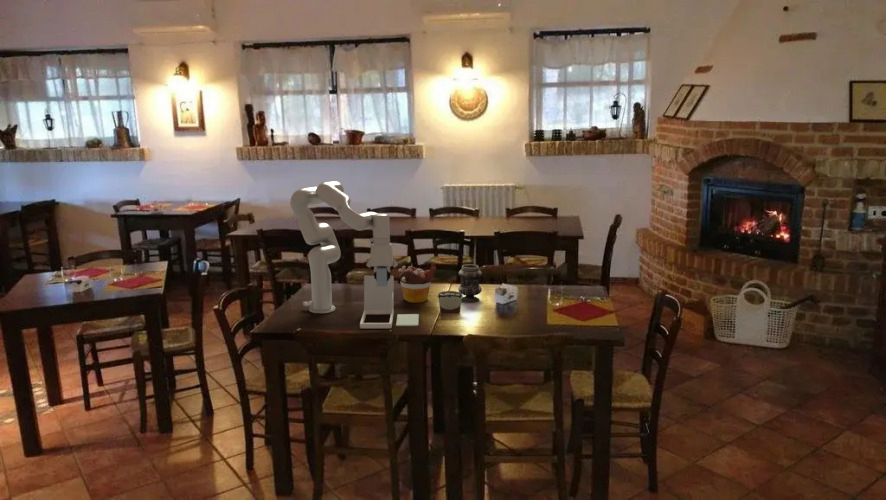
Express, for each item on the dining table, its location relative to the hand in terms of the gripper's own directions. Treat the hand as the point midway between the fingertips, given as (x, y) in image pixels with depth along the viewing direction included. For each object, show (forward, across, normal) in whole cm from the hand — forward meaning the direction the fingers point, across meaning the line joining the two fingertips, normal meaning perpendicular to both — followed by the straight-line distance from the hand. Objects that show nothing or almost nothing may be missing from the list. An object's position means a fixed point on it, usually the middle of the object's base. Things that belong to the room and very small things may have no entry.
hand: (382, 279), depth 312 cm
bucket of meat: (+20, +15, +34) cm, 42 cm away
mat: (+20, +11, 0) cm, 23 cm away
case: (+20, -3, +2) cm, 20 cm away
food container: (+20, +31, +14) cm, 39 cm away
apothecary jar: (+20, +42, +35) cm, 58 cm away
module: (+2, 0, 0) cm, 2 cm away
